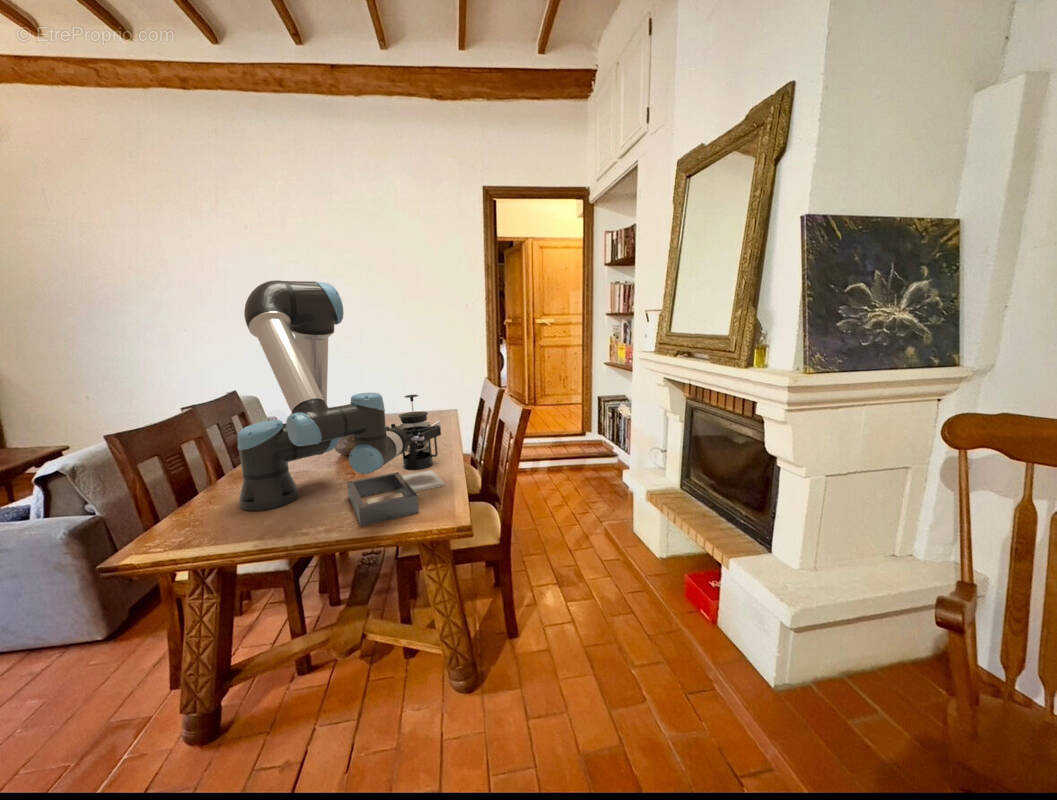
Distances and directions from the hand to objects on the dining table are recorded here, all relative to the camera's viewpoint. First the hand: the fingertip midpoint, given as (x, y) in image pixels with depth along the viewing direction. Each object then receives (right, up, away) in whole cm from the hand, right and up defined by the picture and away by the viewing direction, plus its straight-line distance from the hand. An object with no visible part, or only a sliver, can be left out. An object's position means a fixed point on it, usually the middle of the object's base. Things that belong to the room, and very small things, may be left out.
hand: (422, 424), depth 142 cm
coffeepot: (-6, -16, +18) cm, 25 cm away
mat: (0, -19, 0) cm, 19 cm away
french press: (0, -13, -2) cm, 13 cm away
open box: (-8, -22, -17) cm, 29 cm away
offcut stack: (-4, -23, -23) cm, 33 cm away
